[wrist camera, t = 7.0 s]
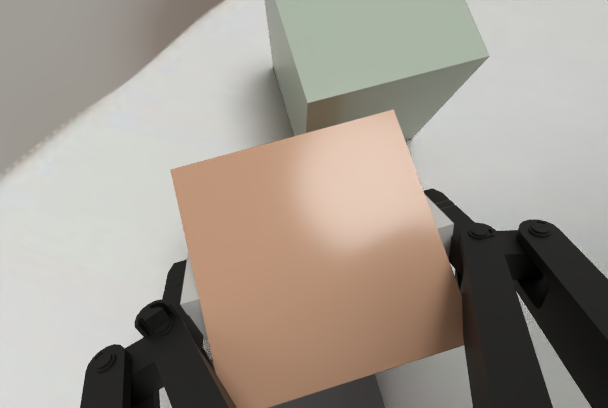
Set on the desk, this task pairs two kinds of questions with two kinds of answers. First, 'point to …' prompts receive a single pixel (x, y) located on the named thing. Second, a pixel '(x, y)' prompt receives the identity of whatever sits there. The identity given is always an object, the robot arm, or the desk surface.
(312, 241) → the peach salmon cube
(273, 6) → the sage green cube
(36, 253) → the desk surface
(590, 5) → the desk surface
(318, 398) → the coaster
